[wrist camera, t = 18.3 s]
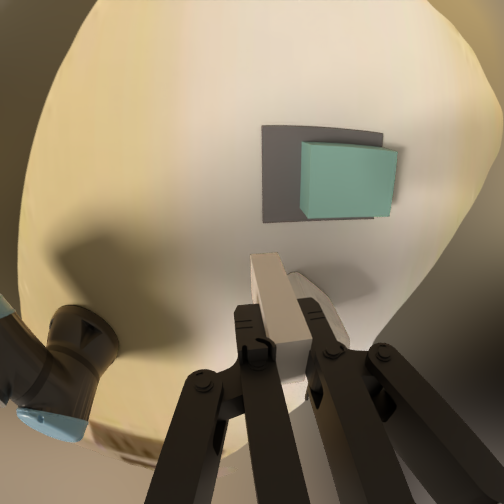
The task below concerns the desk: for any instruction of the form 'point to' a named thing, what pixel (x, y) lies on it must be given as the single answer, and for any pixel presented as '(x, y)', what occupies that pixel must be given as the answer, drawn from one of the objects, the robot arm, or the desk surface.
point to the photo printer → (308, 289)
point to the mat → (297, 166)
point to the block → (346, 180)
